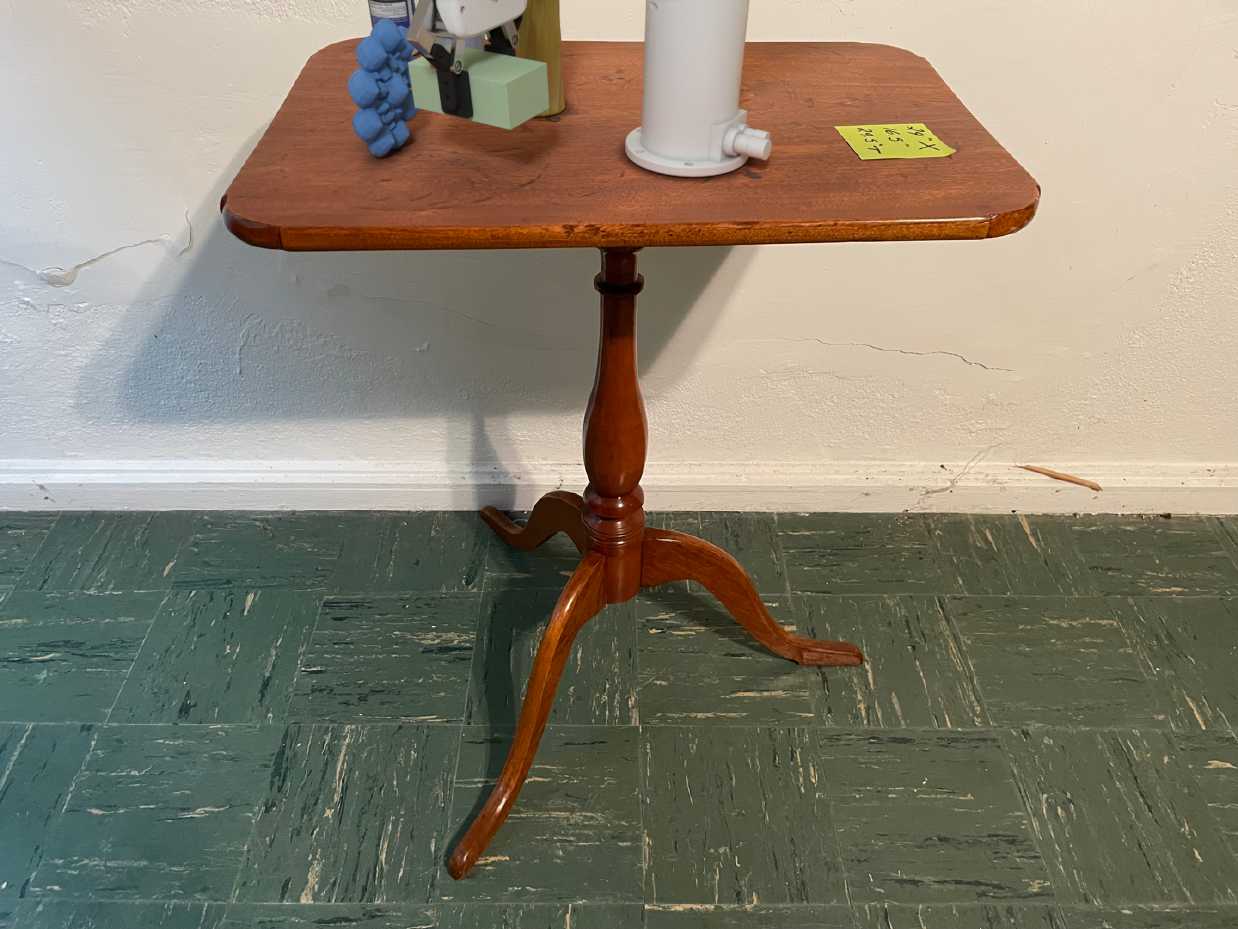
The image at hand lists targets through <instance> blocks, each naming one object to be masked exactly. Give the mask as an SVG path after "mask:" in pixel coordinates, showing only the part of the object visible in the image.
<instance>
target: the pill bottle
mask: <svg viewBox="0 0 1238 929" xmlns="http://www.w3.org/2000/svg"><path fill="white" fill-rule="evenodd" d="M367 2H368V10H369V16H370V23H371V30H372V29H373V27H374V25H375V24H376V23H377V22H378V21H379V20H380V19H384V18H388V19H390V20H392V21H394V23H395V24H396V26H397V27H398V26H403V27H405V28H407V29H409V26H410V23H411V21H412V18H413V15H414V13H415V10H416V9H415V2H414V0H367ZM418 53H420V52H419V51H418V50H417V49H416V48H415V49H414V50H413V52H412V54H411V55H412V56H414V55H417V54H418Z"/></svg>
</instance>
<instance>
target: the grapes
mask: <svg viewBox="0 0 1238 929" xmlns="http://www.w3.org/2000/svg"><path fill="white" fill-rule="evenodd" d="M407 32H408V29H407V28H405V27H403V26H398V27H397V26H396V24H395V23H394V21H392V20H390V19H388V18H384V19H380V20H379V21H378V22H377V23H376V24H375V25H374V27H373V29H372V28H371V30H370V33H369V35H368V36H364V37H363V38H362V40H360V41H359V43H358V45H357V47H356V48H355V50H354V54H355V55H354V56H355V58H356V60H357V64H358V65H359V66H360V67H359V68H356V69H355V70H354V71H353V72H352V73H351V75H350V77H349V78H348V81H347V91H348V94H349V97H350V99H351V101H352V102H353V104H354V105H355V106H357V107H358V108H359V109H357V111H355V113H354V115H353V117H352V118H351V126H352V128H353V131H354V133H355V134H356V136H357V137H358V139H360V140H361V141H364V142H365V145H366V147H367V150H368V151H369V152H370V153H371V154H372V155H373V156H374V157H377V158H381V157H384V156H386V155H387V154H388V153H390V151H391V150H396V149H399V148H401V147H402V146H403V145H404V144H405V143H406V141H407V140H408V139H409V136H410V129H409V127H408V125H407V123H409V122H412V120H413V119H414V118H415V117H416V116H417V115H418V113H419V112H420V110H421V109H420V108H415V104H414V98H413V92H412V86H411V79H410V73H409V67H408V62H411V61H413V60H415V59H417V57H416V56H414V55H411V54H412V52H413V50H414V49H415V48H414V47H413V46H412V45H411V44H410V43H409V42H408V41H407V37H406V35H407Z"/></svg>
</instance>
